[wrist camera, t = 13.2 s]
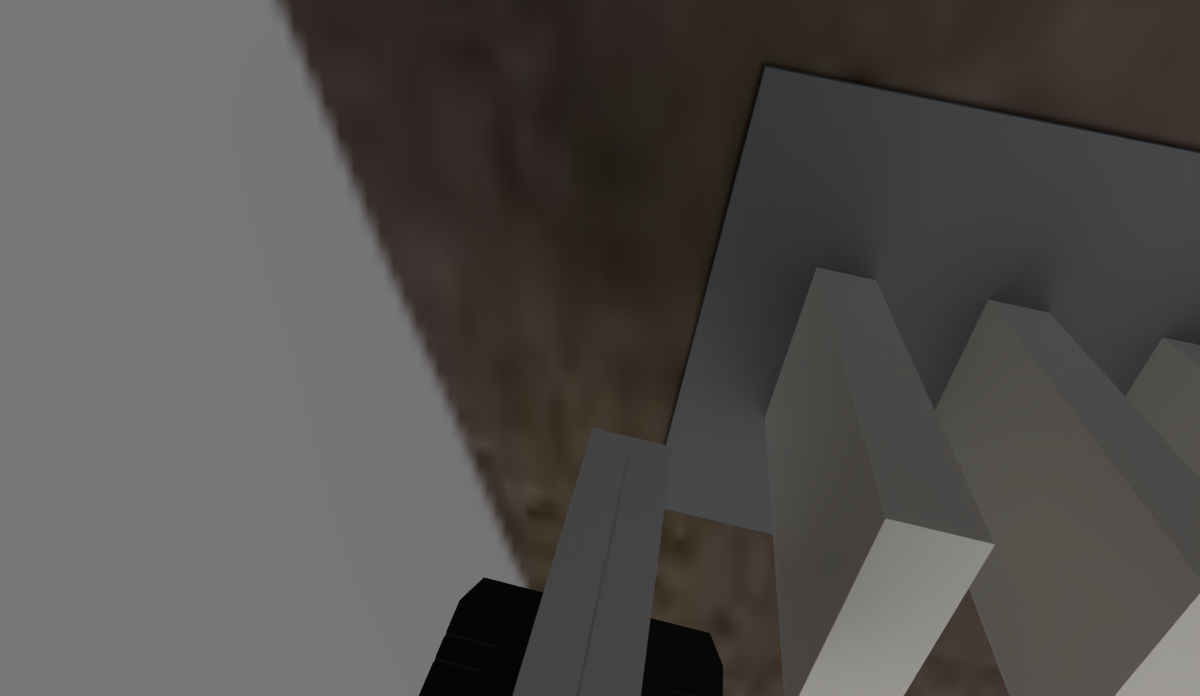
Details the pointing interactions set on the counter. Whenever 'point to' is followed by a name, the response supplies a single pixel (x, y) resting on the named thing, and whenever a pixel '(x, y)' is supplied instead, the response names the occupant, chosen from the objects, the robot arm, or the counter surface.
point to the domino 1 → (1074, 518)
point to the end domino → (862, 501)
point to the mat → (922, 253)
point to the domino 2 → (1172, 397)
